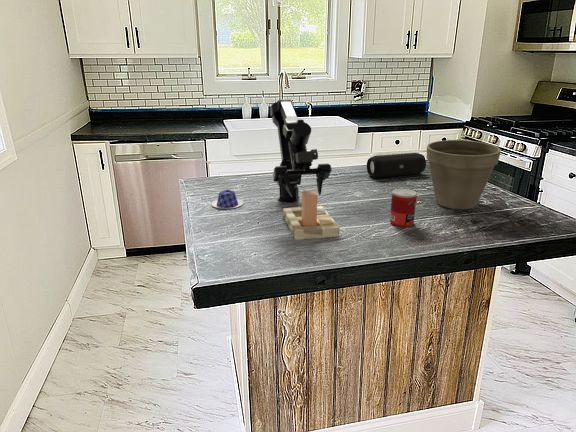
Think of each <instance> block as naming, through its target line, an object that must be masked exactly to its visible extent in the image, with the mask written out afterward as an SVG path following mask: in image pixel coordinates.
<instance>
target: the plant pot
mask: <svg viewBox="0 0 576 432" xmlns="http://www.w3.org/2000/svg"><path fill="white" fill-rule="evenodd" d="M501 153H502V150H501V148H500V147H498V145H497V146H496V145H494V144H492V143H488V142H484V141H483V142H482V141H475V140H464V139H447V140H436V141H432V142H430V143H428V144H427V145H426V161H428V163H429V165H428V166H429V170H430V177H431V182H432V188H433V193H434V198H435V202H436V204H438V205H439V206H441V207H445V208H446V209H447V208H448V209H451V210H453V209H454V210H470V209H474V208H476V207H477V205H478V203H479V202H480V199H481V197H482V195H483V193H484V191H485V189H486V186H487V183H488V181H489V179H490V178H491V174H492V172H493V170H494V167H495V166H497V165H498V163H499V161H500V155H501Z"/></svg>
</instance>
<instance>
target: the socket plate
mask: <svg viewBox="0 0 576 432" xmlns="http://www.w3.org/2000/svg"><path fill="white" fill-rule="evenodd" d="M282 213H283V214H282V215H283V216H282V217H283V219H284V221H285V223H286V225H287V227H288V228H289V230H290V232H291V234H292V236H293V238H294V240H295V241H298V240H299V241H301V240H311V239H323V238H334V237H336V238H337V237H340V231H341V230H340V226H339V224H338V223H337V222H336V221H335V220H334V218H332V216H331V215H330V213H328V211H327V210H326V208H325V207H324V206H323V205H317V226H312V227H302V206H301V207H299V206H298V207H288V208H287V207H286V208H285V207H284V208H283V209H282Z"/></svg>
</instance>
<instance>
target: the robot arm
mask: <svg viewBox="0 0 576 432" xmlns="http://www.w3.org/2000/svg"><path fill="white" fill-rule="evenodd" d="M269 116H270V117H271V119H272V123H273V124H274V125H275V127H277V133H278V141H279V143H278V144H279V148H280V157H281V158H280V159H281V162H280V164H279V165H278V166H275V167H274V169H273V172H272V178H273V182H276V184H277V186H278V187H279V198H277V201H279V202H287V203H294V202H295V201H296V200H298V199H299V198H300V196H299V192H300V191H299V190H300V189H299V187H298V186H300V185H301V183H302V176H308V175H315V176H316V188H317V192H318V196H321V194H322V188H323V184H324V181H326V180H327V179H328V178H329V177H330V174H331V173H332V171H333V170H332V165H331V164H329V163H318V165H317V167H315V168H313V167H312V165H313V161H317V160H318V159H319V153H318V149H317V148H312V149H311V150H310V151H307V150H308V149H307V145H308V143H309V140H310V136H311V133H312V127H311V125H309V124H308V123H307V122H305V119H302V118H301V117H298V116H297V113H296V112H295V109H294V103H293V100H292V99H290V98H280V99H278V100H277V101H276V102H274V103H272V104H271V105H270V108H269ZM311 167H312V168H311Z"/></svg>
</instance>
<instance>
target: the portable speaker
mask: <svg viewBox="0 0 576 432" xmlns="http://www.w3.org/2000/svg"><path fill="white" fill-rule="evenodd" d="M426 167H427V158H426V157H425V155H424V154H423V153H419V152H405V153H392V154H376V155H373V156H371V157H369V158H368V159H367V162H366V170H367V171H366V172H367V174H368V176H370V177H372V178H376V179H379V178H389V177H392V178H393V177H403V176H404V177H405V176H411V175H413V176H414V175H419V174H421V173H423V172H425V169H426Z"/></svg>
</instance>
